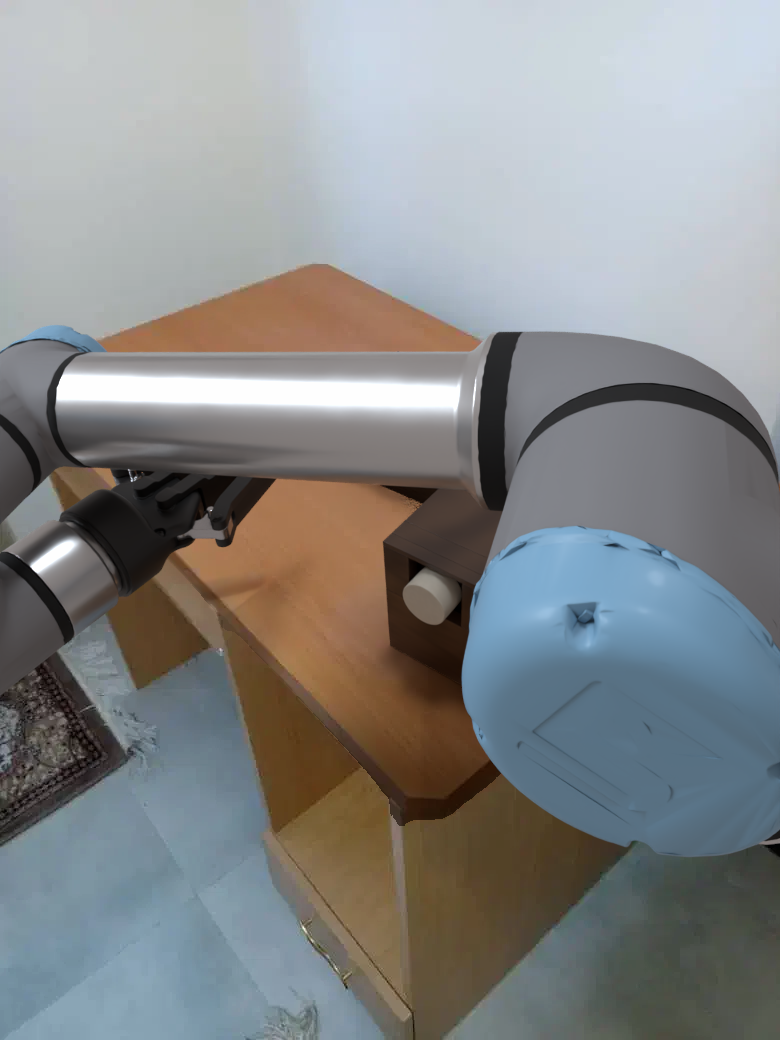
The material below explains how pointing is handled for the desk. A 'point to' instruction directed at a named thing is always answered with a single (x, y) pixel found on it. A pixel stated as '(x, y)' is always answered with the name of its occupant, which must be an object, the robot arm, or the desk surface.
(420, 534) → the box
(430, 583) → the timer button
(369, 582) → the desk surface
